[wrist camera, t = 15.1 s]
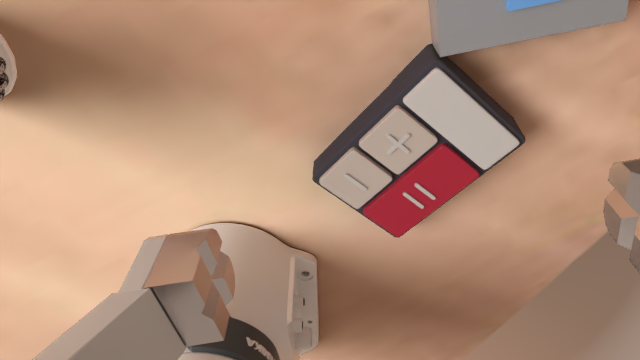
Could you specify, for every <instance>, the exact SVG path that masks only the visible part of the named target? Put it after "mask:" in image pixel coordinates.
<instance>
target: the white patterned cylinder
mask: <svg viewBox="0 0 640 360" xmlns="http://www.w3.org/2000/svg"><path fill="white" fill-rule="evenodd" d="M17 76H18V75H17V68H16V61H15V56H14V54H13V52H12V51H11V49H10V47H9V45H8V43H7V42H6V40H5V38H4V37H3V36H2V35H1V34H0V101H1V100H2V99H3V98H4V96H6V95H7V94H8V93H10V92H11V91H12V90H13V87H14V84H15V81H16V79H17Z"/></svg>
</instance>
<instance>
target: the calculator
mask: <svg viewBox="0 0 640 360" xmlns="http://www.w3.org/2000/svg"><path fill="white" fill-rule="evenodd" d="M524 142H525V137H524V135H523V133H522V132H521V130H520V128H519V127H518V125H517V123H516V122H515V120H514V118H513V117H512V116H511V115H509V114H508V113H507V112H506V111H505V110H504V109H503V108H502V107H501V106H500V105H499V104H498V103H497V102H495V101H494V100H493V99H492V98H491V97H490V96H489V95H488V94H487V93H486V92H485V91H484V90H483V89H481V88H480V87H479V86H478V85H477V84H476V83H475V82H474V81H473V80H472V79H471V78H470V77H469V76H467V75H466V74H465V73H464V72H463V71H462V70H461V69H460V68H459V67H458V66H457V65H456V64H455V63H453V62H452V61H451V60H450V59H449V58H448V57H447V56H444V57H440V56H439V55H438V53H437V51H436V50H435V48H434V46H433V44H429V45H427V46H426V47H425V48H424V49H423V50H422V51H421V52H420V53H419V54H418V55H417V56H416V57H415V58H414V59H413V60H412V61H411V62H410V63H409V64H408V65H407V66H406V68H405V69H404V70H403V71H402V72H401V73H400V74H399V75H398V76H397V77H396V78H395V79H394V80H393V81H392V83H391V84H390V85H389V86H388V87H387V88H386V89H385V90H384V91H383V92H382V93H381V94H380V95H379V96H378V97H377V98H376V99H375V100H374V101H373V102H372V103H371V104H370V105H369V106H368V107H367V108H366V109H365V110H364V111H363V112H362V113H361V114H360V115H359V116H358V117H357V118H356V119H355V120H354V121H353V122H352V123H351V124H350V125H349V126H348V127H347V128H346V129H345V130H344V131H343V132H342V133H341V134H340V135H339V136H338V137H337V138H336V139H335V140H334V141H333V142H332V143H331V145H330V146H329V147H328V148H327V149H326V150H325V151H324V152H323V153H322V154H321V155H320V156H319V157H318V158H317V159H316V160H315V161H314V167H313V181H314V182H315V183H317V184H318V185H320V186H321V187H323V188H324V189H326V190H327V191H328V192H330V193H331V194H333V195H334V196H336V197H337V198H339V199H340V200H342V201H343V202H344V203H346V204H347V205H349V206H350V207H352V208H353V209H355V210H356V211H358V212H359V213H361V214H362V215H363V216H365V217H366V218H368V219H369V220H371V221H372V222H374V223H375V224H377V225H378V226H379V227H381V228H382V229H384V230H385V231H387V232H388V233H390V234H391V235H393V236H394V237H400V236H402V235H403V234H404V233H406V232H407V231H408V230H410V229H411V228H412V227H414V226H415V225H416V224H418V223H419V222H420V221H422V220H423V219H424V218H426V217H427V216H428V215H430V214H431V213H432V212H434V211H435V210H436V209H438V208H439V207H440V206H442V205H443V204H444V203H445V202H447V201H448V200H449V199H451V198H452V197H453V196H455V195H456V194H457V193H459V192H460V191H461V190H463V189H464V188H465V187H467V186H468V185H469V184H471V183H472V182H473V181H475V180H476V179H477V178H479V177H480V176H481V175H483V174H484V173H485V172H486V171H488V170H489V169H490V168H492V167H493V166H494V165H496V164H497V163H498V162H500V161H501V160H502V159H504V158H505V157H506V156H508V155H509V154H510V153H512V152H513V151H514V150H516V149H517V148H518V147H520V146H521V145H522V144H523V143H524Z"/></svg>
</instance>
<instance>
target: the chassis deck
mask: <svg viewBox="0 0 640 360" xmlns="http://www.w3.org/2000/svg"><path fill="white" fill-rule="evenodd" d="M628 2H629V0H561V1H556V2H551V3H547V4H542V5H537V6H532V7H528V8H523V9H518V10H514V11H508V10H507V9H506V0H429V8H430V21H431V33H432V44H433V46H434V48H435V50H436V51H437V53H438V55H439V56H440V57H444V56H449V55H454V54H459V53H464V52H469V51H474V50H479V49H484V48H489V47H494V46H499V45H504V44H509V43H514V42H519V41H524V40H529V39H534V38H539V37H544V36H549V35H554V34H559V33H564V32H569V31H574V30H580V29H585V28H590V27H595V26H600V25H605V24H610V23H615V22H620V21H625V20H626V15H627V8H628Z"/></svg>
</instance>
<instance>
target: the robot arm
mask: <svg viewBox="0 0 640 360" xmlns="http://www.w3.org/2000/svg"><path fill="white" fill-rule="evenodd" d="M608 181H609V182H610V184H611V185H612V186H613V187H614V189H613V190H612V191H611V193H610V194H609V195H608V196H607V197H606V198H605V202H604V211H603V212H604V218H605V223H606V226H607V228H608V231H609V232H610V235H611V236H612V238H613V239H614V240H615V242H616V243H617V244H619V245H621V246H623V247H625V248H627V249H630V250H631V254H630V259H629V260H630V261H631V263H632V264H633V265H634V267H635V268H636V269H637V271H638V272H639V273H640V159H634V160H628V161H622V162H616V163H613V165H612V167H611V168H610V171H609V177H608ZM304 271H307V272H304ZM318 341H319V315H318V281H317V260H316V258H315V257H314V256H313V255H312V254H310V253H307V252H304V251H301V250H298V249H294V248H291V247H289V246H287V245H285V244H284V243H282V242H281V241H279V240H278V239H276V238H275V237H273V236H272V235H270V234H268V233H266V232H264V231H262V230H259V229H257V228H254V227H250V226H246V225H242V224H234V223H216V224H209V225H204V226H201V227H198V228H195V229H193V230H191V231H188V232H181V233H174V234H170V235H161V236H155V237H149V238H147V239H146V240H144V242H143V244H142V246H141V248H140V250H139V252H138V254H137V256H136V258H135V260H134V262H133V264H132V266H131V268H130V270H129V272H128V274H127V276H126V278H125V280H124V282H123V284H122V287H121V289H120V291H119V293H113V294H111V295H110V296H108V297H107V298H106V299H105V300H104V301H102V302H101V303H100V304H99V305H97V306H96V307H95V308H94V309H93V310H91V311H90V312H89V313H88V314H87V315H85V316H84V317H83V318H82V319H81V320H79V321H78V322H77V323H76V324H75V325H73V326H72V327H71V328H70V329H68V330H67V331H66V332H65V333H64V334H62V335H61V336H60V337H59V338H58V339H56V340H55V341H54V342H53V343H52V344H50V345H49V346H48V347H47V348H45V349H44V350H43V351H42V352H41V353H39V354H38V355H37V356H36V357H35V358H33V359H32V360H299V358H300V355H301V354H304V353H306V352H308V351H310V350H312V349H313V348H315V347H316V346H317V345H318Z"/></svg>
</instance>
